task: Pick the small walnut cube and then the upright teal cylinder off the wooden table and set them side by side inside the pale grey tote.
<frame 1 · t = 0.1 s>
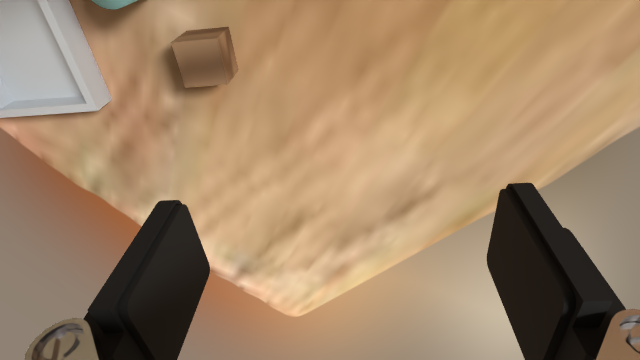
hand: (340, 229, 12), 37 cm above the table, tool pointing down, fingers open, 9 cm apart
grey tote: (26, 32, 46), on the table
walnut cube: (213, 50, 46), on the table
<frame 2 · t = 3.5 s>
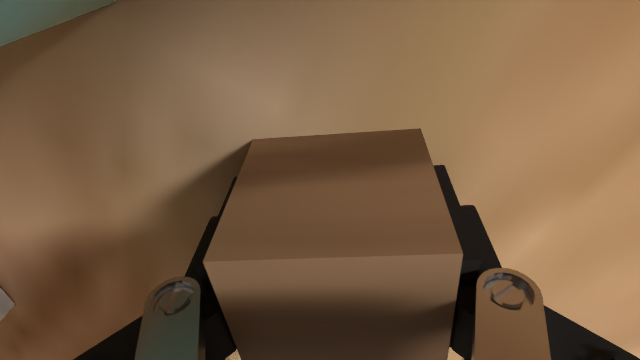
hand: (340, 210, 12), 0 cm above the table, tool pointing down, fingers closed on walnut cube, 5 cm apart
walnut cube: (340, 200, 13), on the table, touching gripper
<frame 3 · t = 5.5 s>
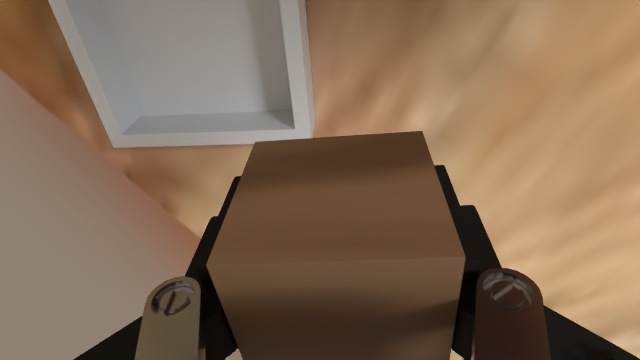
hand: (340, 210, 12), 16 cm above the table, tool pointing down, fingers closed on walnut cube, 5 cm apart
walnut cube: (342, 202, 13), point 16 cm above the table, touching gripper
when the fingers open (4 cm above the table, at t = 7.7 s): walnut cube drops 2 cm, resting on grey tote.
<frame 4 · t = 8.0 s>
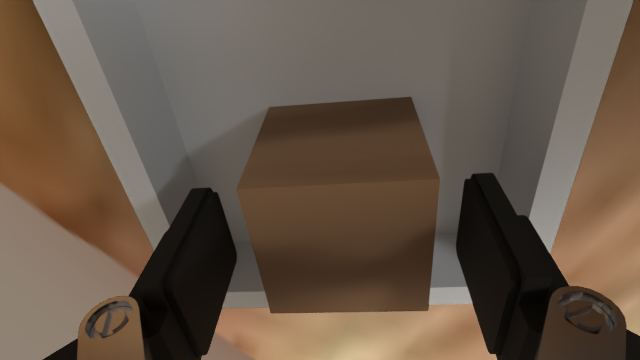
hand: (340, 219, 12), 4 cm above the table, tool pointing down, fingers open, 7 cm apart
grey tote: (333, 53, 13), on the table
walnut cube: (343, 162, 15), point 1 cm above the table, touching grey tote
when the fingers open (4 cm above the table, at t = 16.2 s): teal cylinder drops 2 cm, resting on grey tote.
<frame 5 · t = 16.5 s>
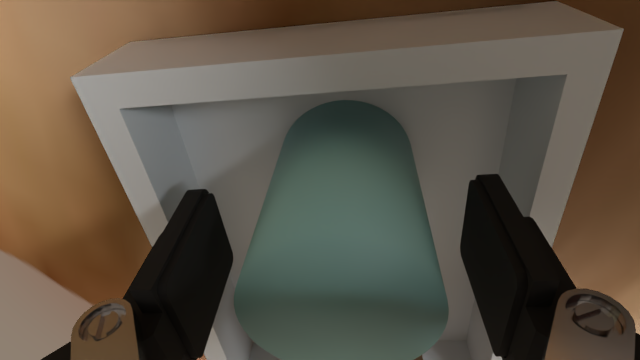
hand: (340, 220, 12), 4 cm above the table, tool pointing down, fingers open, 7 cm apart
grey tote: (347, 228, 18), on the table
teal cylinder: (345, 161, 15), point 1 cm above the table, touching grey tote
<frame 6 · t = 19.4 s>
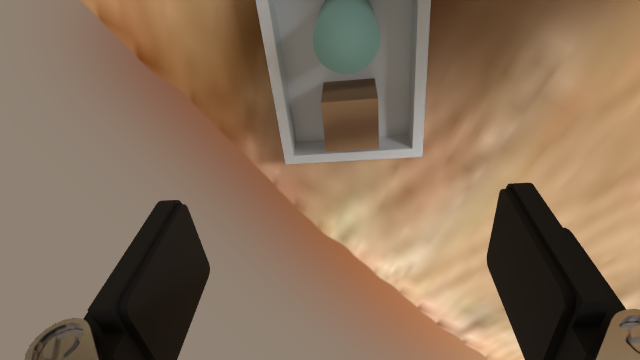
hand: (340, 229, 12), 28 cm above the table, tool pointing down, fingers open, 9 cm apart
grey tote: (347, 62, 37), on the table
walnut cube: (350, 103, 39), point 1 cm above the table, touching grey tote
teal cylinder: (346, 19, 34), point 1 cm above the table, touching grey tote
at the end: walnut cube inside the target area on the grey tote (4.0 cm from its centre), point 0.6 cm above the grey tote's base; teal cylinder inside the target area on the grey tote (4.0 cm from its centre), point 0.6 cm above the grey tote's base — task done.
